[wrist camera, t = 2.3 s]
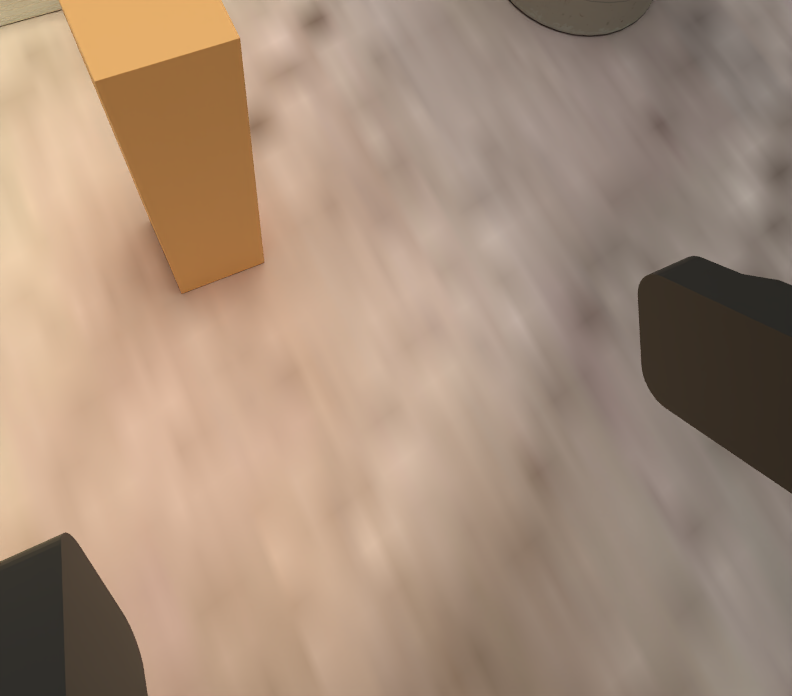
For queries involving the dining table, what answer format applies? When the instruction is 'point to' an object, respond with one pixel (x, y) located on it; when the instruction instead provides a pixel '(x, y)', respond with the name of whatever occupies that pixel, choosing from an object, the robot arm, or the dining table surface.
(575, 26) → the thermos bottle
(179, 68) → the square peg
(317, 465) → the dining table surface
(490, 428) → the dining table surface
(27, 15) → the collar plate
